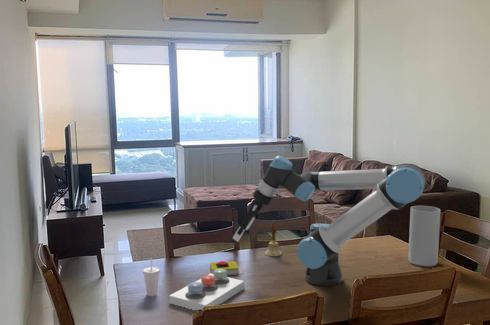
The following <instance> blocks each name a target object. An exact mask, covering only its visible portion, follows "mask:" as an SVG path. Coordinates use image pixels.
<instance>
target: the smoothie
mask: <svg viewBox="0 0 490 325" xmlns="http://www.w3.org/2000/svg"><path fill="white" fill-rule="evenodd" d="M160 273H161V269H160V268H159V267H157V266H153V258H152V257H150V267H145V268H144V269H142V274H143V278H144V284H145V290H146V296H148V297H155V296H157V295H158V287H159V280H160V278H159V277H160Z"/></svg>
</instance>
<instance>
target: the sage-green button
mask: <svg viewBox="0 0 490 325" xmlns="http://www.w3.org/2000/svg"><path fill="white" fill-rule="evenodd" d="M213 276H214V277H215V279H225V278H226V277H228V275H227V271H226V270H225V269H216V270H214V271H213Z"/></svg>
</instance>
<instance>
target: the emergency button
mask: <svg viewBox="0 0 490 325" xmlns="http://www.w3.org/2000/svg"><path fill="white" fill-rule="evenodd" d="M216 269H225V270H226V271H227V276H233V275H244V271H243V269H242V267H241V266H238V264H237V262H236V261H233V260H232V261H224V260H222V261H221V260H220V261H217V262H210V263H209V267H208V268H206V272H207V275H209V274H213V271H214V270H216Z"/></svg>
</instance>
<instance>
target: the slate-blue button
mask: <svg viewBox="0 0 490 325" xmlns="http://www.w3.org/2000/svg"><path fill="white" fill-rule="evenodd" d="M187 286H188V292H190V293H200V292H202V291H203V284H202V283H200V282H196V281H193V282H189V283H188V284H187Z"/></svg>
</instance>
